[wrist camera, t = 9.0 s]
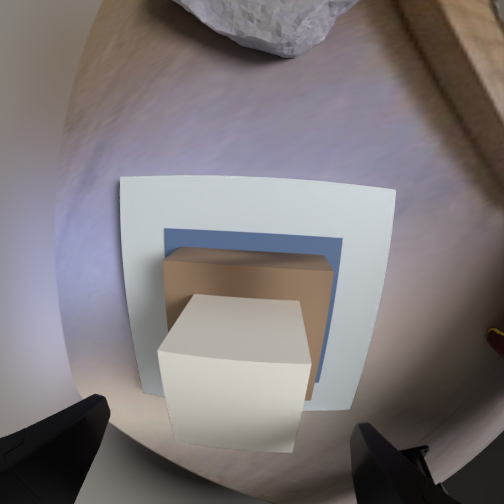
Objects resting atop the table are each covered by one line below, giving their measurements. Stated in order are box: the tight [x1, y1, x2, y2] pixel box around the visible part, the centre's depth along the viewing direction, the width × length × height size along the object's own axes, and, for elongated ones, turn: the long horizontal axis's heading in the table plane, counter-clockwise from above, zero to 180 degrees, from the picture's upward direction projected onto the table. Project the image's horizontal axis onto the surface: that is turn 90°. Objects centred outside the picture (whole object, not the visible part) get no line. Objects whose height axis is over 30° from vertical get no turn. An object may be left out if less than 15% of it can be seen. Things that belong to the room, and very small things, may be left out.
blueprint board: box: [120, 175, 396, 411], centre depth 16 cm, size 16×16×4 cm
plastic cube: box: [157, 294, 312, 453], centre depth 12 cm, size 5×5×5 cm
